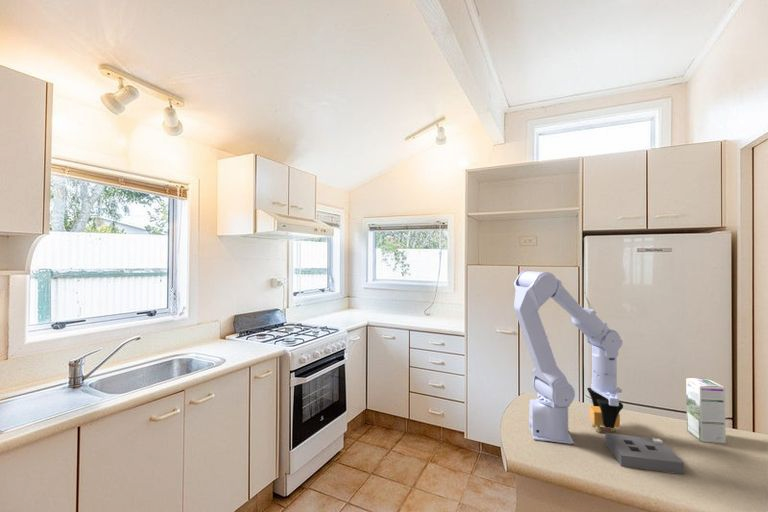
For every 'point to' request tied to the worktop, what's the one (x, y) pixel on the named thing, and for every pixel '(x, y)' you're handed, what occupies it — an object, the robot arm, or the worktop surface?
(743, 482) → the worktop surface
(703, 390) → the syrup box
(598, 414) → the plug
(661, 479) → the worktop surface
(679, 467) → the socket
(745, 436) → the worktop surface
